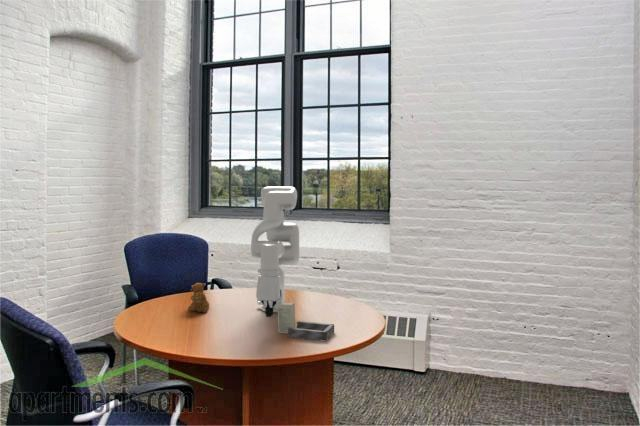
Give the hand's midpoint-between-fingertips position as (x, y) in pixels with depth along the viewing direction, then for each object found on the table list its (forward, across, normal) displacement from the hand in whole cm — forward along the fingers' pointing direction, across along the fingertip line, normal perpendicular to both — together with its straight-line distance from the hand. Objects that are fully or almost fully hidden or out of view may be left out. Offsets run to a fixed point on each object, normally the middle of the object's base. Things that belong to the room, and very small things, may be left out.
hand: (269, 316), depth 218 cm
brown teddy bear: (+6, -44, +19) cm, 49 cm away
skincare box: (+6, +8, 0) cm, 10 cm away
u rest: (+6, +19, 0) cm, 20 cm away
